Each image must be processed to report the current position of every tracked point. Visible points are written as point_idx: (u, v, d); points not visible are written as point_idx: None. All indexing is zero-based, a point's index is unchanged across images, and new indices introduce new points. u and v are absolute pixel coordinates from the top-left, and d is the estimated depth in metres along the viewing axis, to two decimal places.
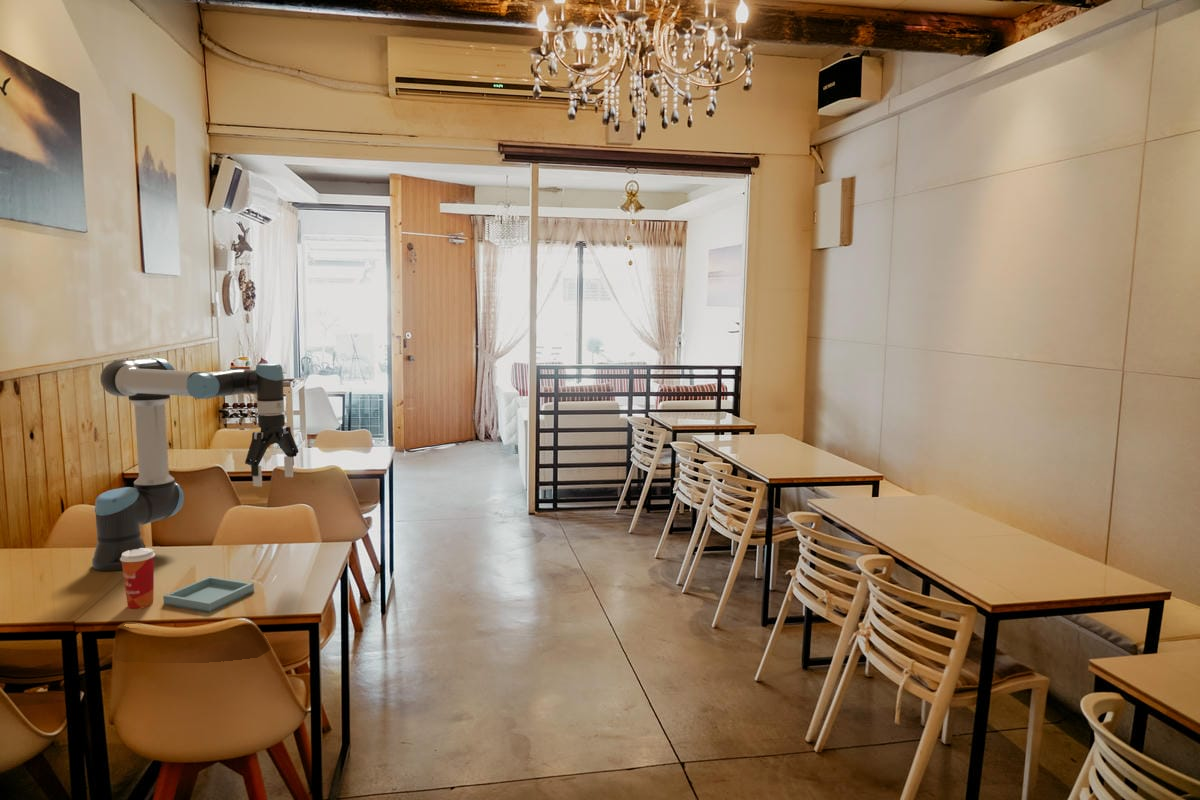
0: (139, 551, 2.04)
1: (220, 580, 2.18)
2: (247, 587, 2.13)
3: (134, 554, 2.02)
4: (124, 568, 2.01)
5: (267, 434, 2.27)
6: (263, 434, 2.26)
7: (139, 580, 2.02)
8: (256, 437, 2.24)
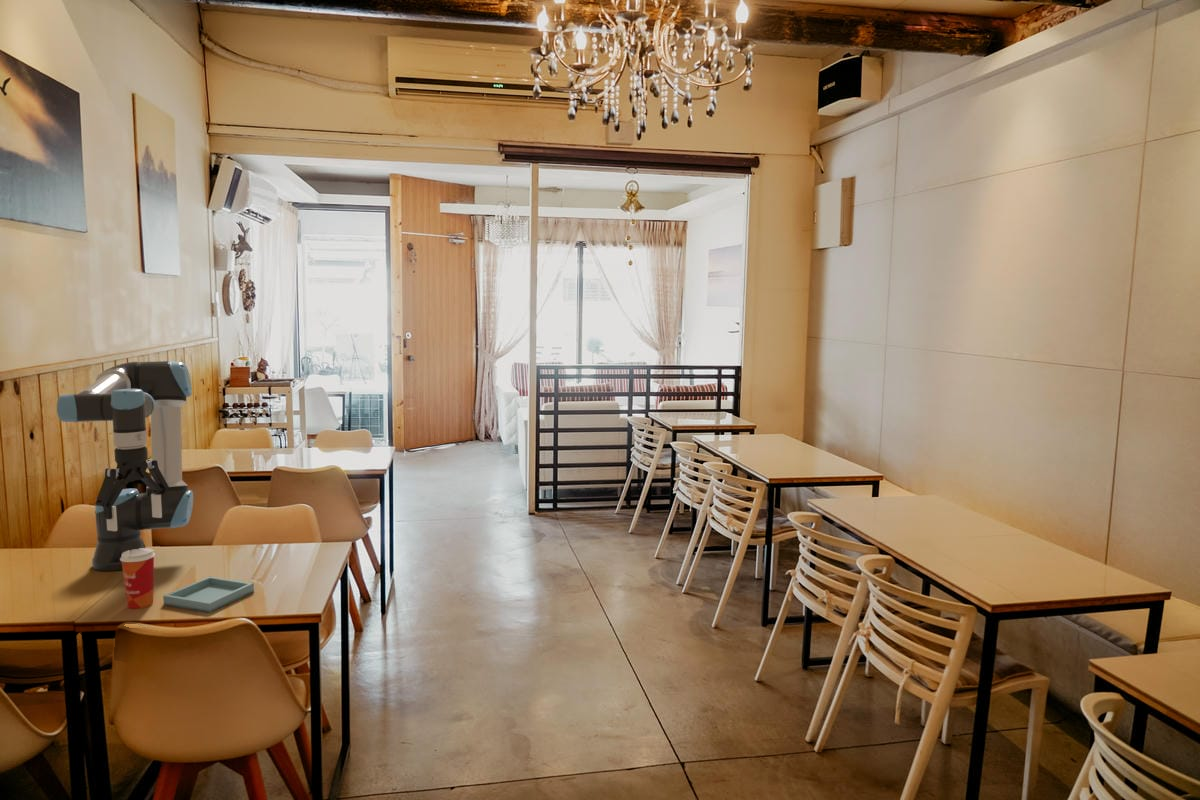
0: (139, 551, 2.04)
1: (220, 580, 2.18)
2: (247, 587, 2.13)
3: (134, 554, 2.02)
4: (124, 568, 2.01)
5: (124, 470, 1.98)
6: (119, 470, 1.97)
7: (139, 580, 2.02)
8: (109, 474, 1.94)
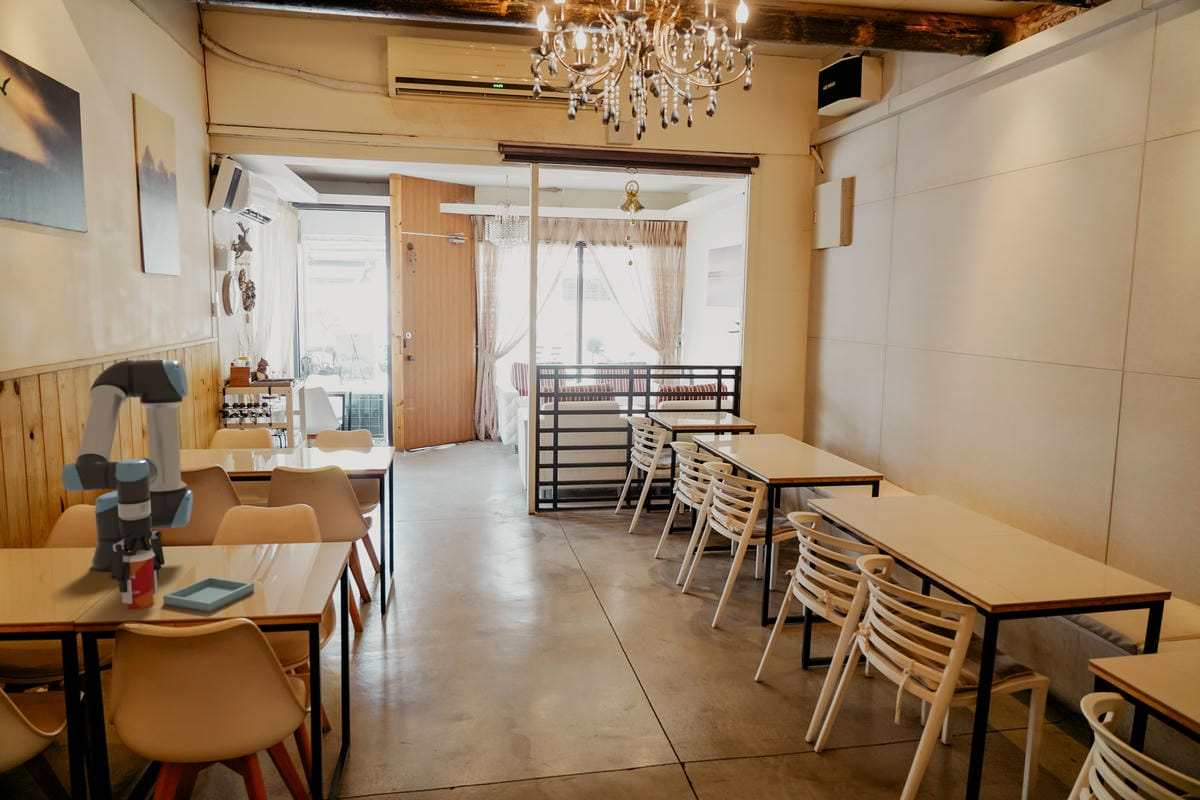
0: (139, 551, 2.04)
1: (220, 580, 2.18)
2: (247, 587, 2.13)
3: None
4: None
5: (129, 541, 2.00)
6: (124, 541, 1.99)
7: (139, 580, 2.02)
8: (116, 550, 1.97)
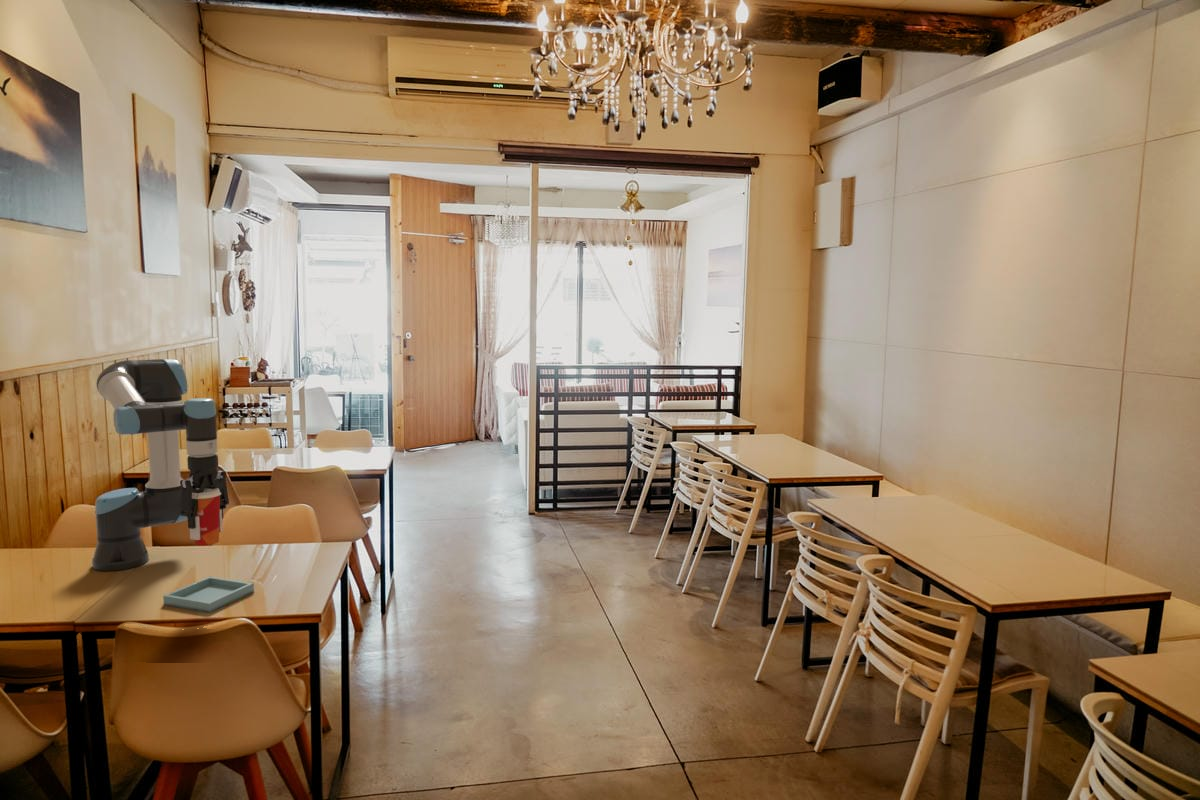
0: (206, 489, 2.08)
1: (220, 580, 2.18)
2: (247, 587, 2.13)
3: None
4: None
5: (197, 478, 2.03)
6: (192, 478, 2.02)
7: (206, 517, 2.05)
8: (185, 486, 2.00)
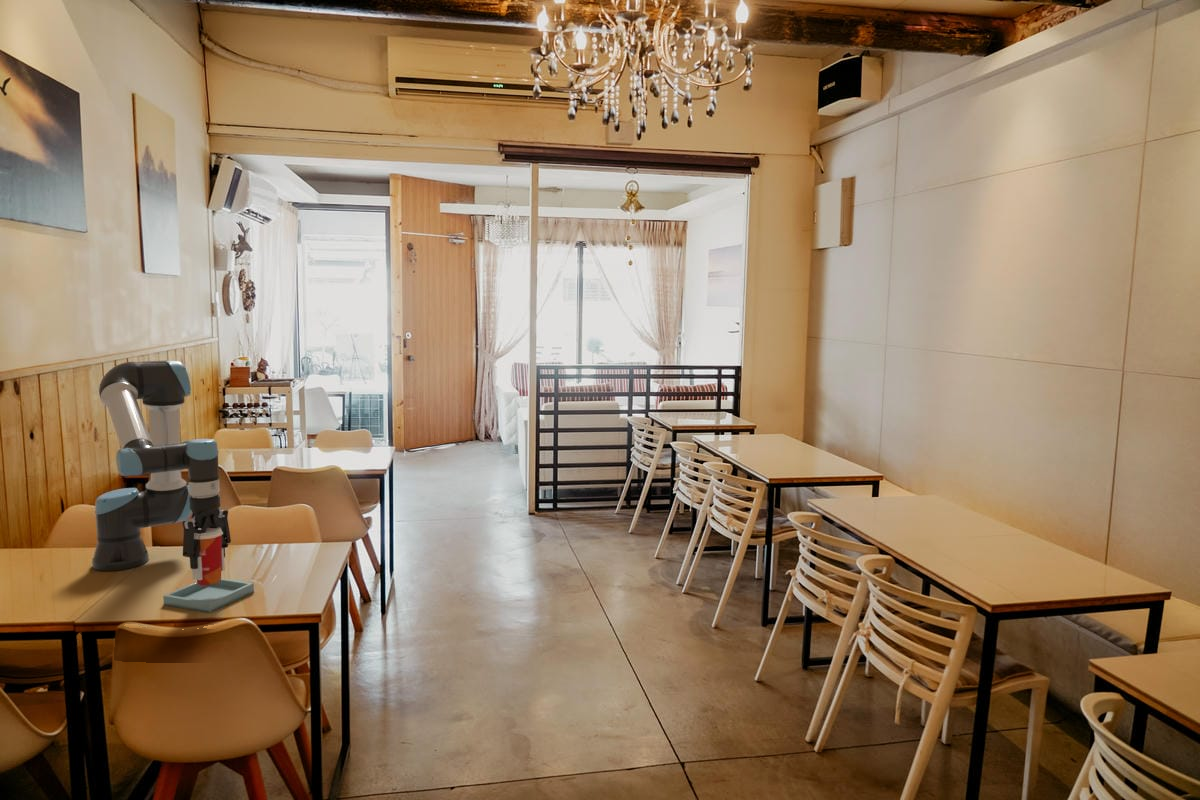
0: (208, 529, 2.09)
1: None
2: (247, 587, 2.13)
3: None
4: None
5: (199, 518, 2.05)
6: (195, 519, 2.04)
7: (209, 557, 2.06)
8: (187, 527, 2.02)
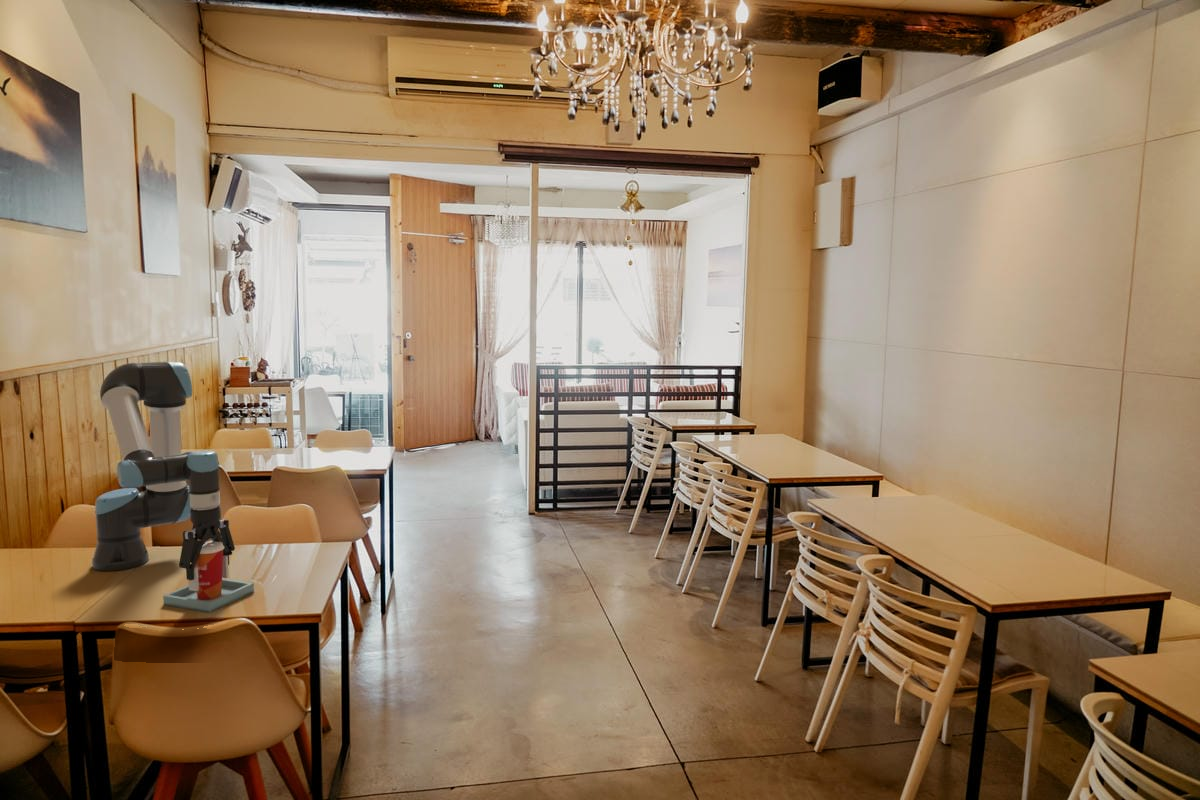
0: (209, 543, 2.10)
1: None
2: (247, 587, 2.13)
3: (205, 546, 2.07)
4: None
5: (200, 530, 2.05)
6: (195, 531, 2.04)
7: (210, 572, 2.07)
8: (187, 537, 2.02)
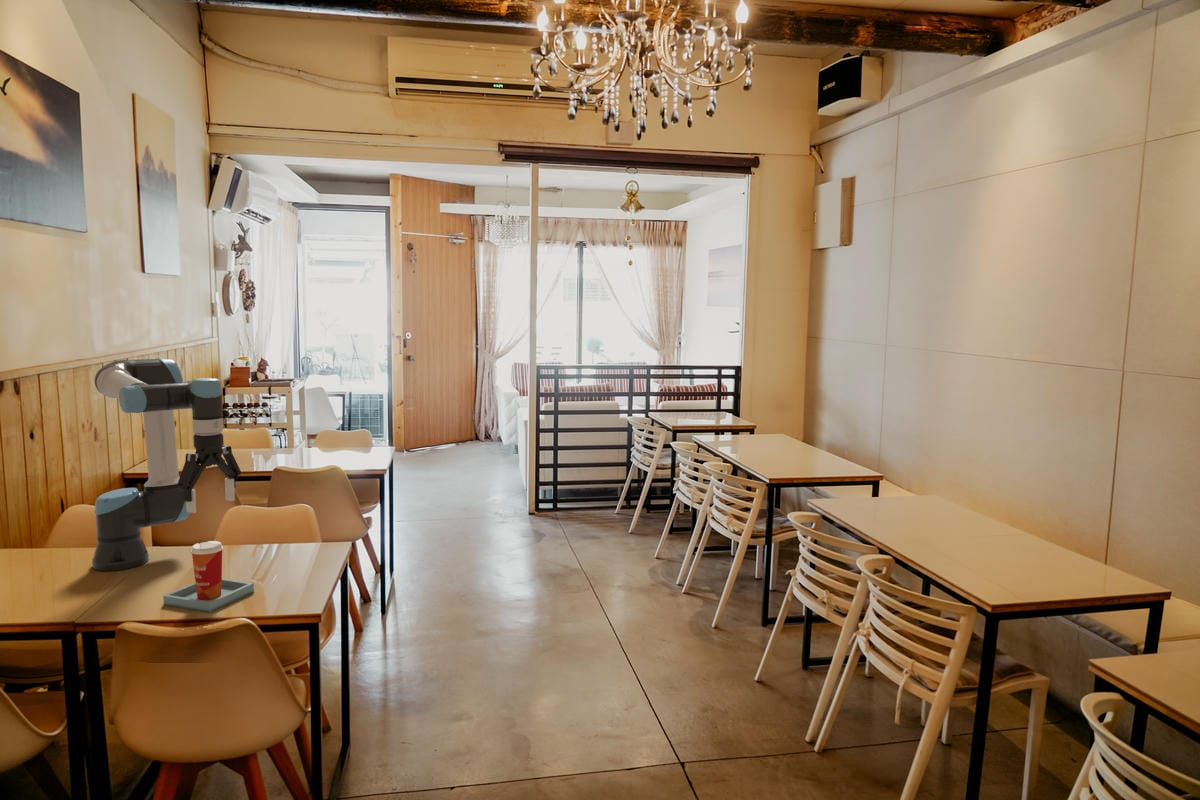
0: (208, 544, 2.09)
1: None
2: (247, 587, 2.13)
3: (204, 547, 2.07)
4: (195, 560, 2.06)
5: (203, 455, 2.08)
6: (198, 456, 2.07)
7: (209, 572, 2.07)
8: (189, 459, 2.05)
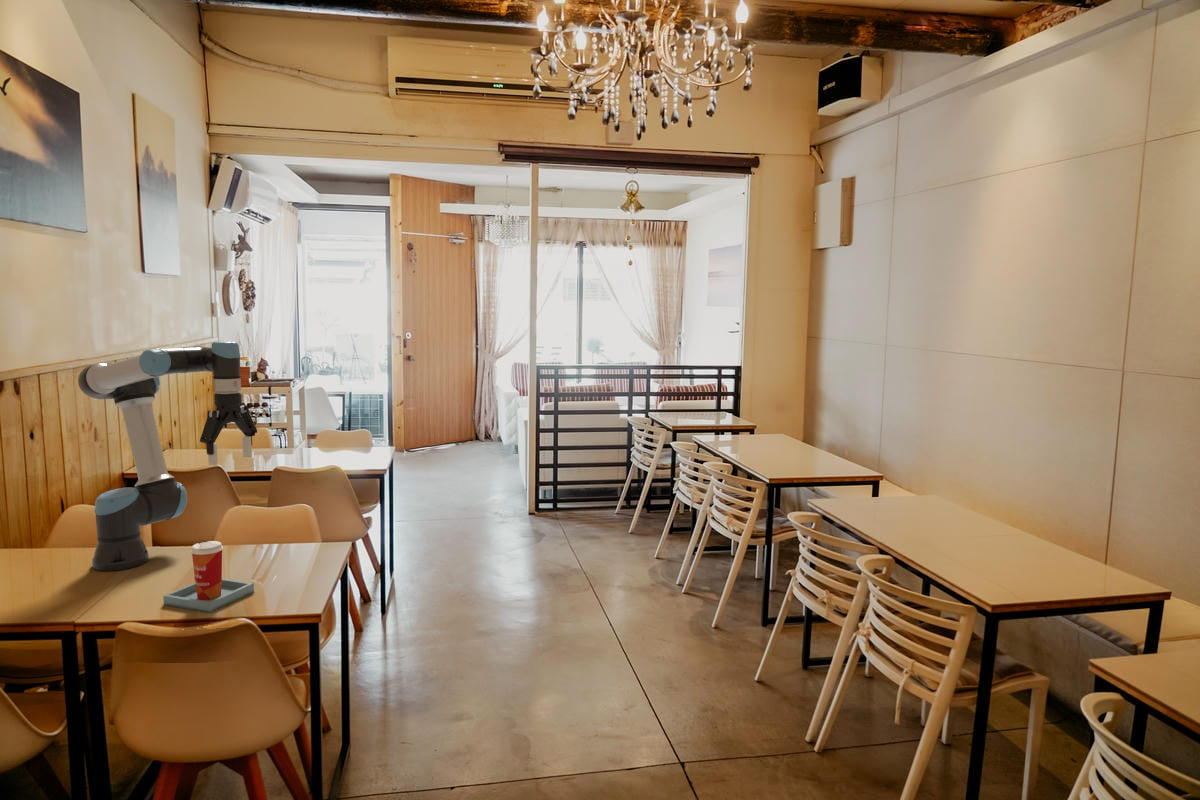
0: (208, 544, 2.09)
1: None
2: (247, 587, 2.13)
3: (204, 547, 2.07)
4: (195, 560, 2.06)
5: (223, 412, 2.25)
6: (219, 412, 2.24)
7: (209, 572, 2.07)
8: (211, 415, 2.21)
